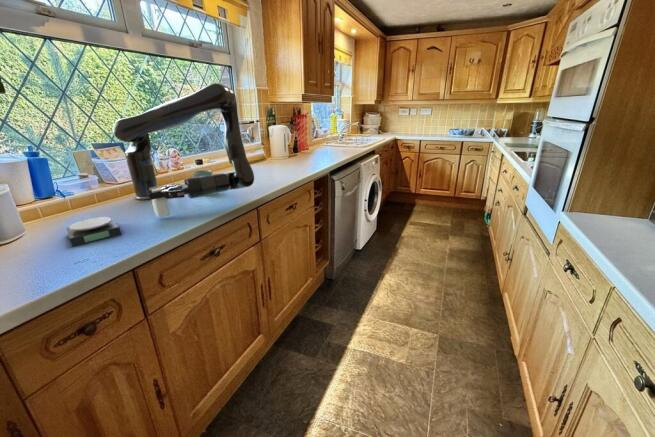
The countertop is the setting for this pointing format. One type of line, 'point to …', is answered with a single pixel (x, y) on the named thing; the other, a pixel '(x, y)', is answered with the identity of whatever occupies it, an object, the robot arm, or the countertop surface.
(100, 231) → the scale
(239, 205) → the countertop surface
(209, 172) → the cup
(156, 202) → the salt shaker
